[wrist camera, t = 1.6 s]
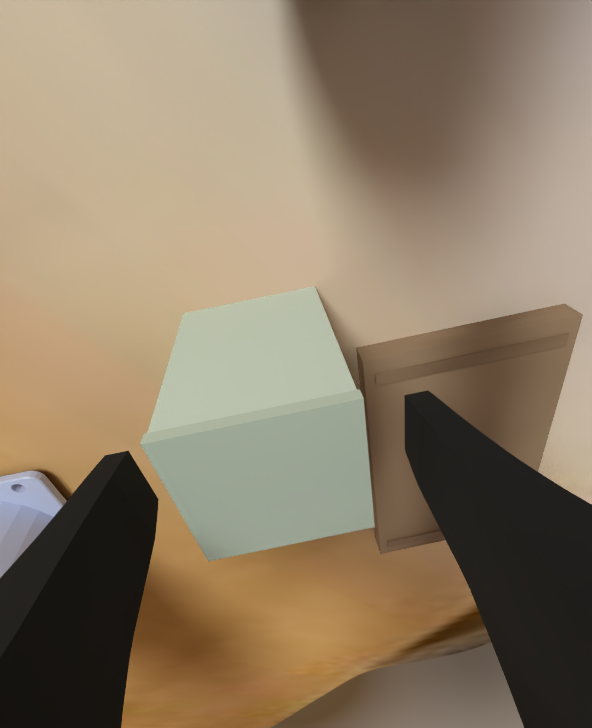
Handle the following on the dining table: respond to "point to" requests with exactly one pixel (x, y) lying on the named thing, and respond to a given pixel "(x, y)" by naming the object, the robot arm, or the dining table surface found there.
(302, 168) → the dining table surface
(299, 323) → the block
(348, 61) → the dining table surface
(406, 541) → the board
